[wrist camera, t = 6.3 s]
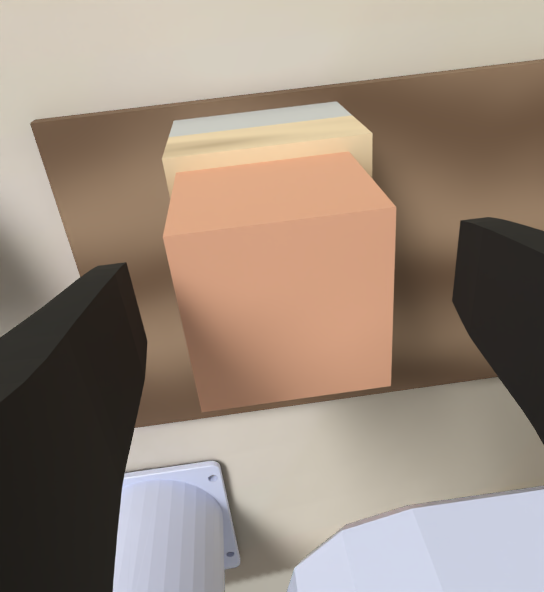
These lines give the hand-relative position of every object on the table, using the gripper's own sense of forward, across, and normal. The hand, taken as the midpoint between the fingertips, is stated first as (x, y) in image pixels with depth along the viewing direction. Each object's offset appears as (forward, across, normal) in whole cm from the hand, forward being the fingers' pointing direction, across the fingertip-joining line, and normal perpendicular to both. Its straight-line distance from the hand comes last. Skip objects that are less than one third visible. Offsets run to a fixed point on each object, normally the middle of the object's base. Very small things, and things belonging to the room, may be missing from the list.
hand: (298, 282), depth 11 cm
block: (+5, 0, +1) cm, 5 cm away
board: (+10, -2, +5) cm, 12 cm away
